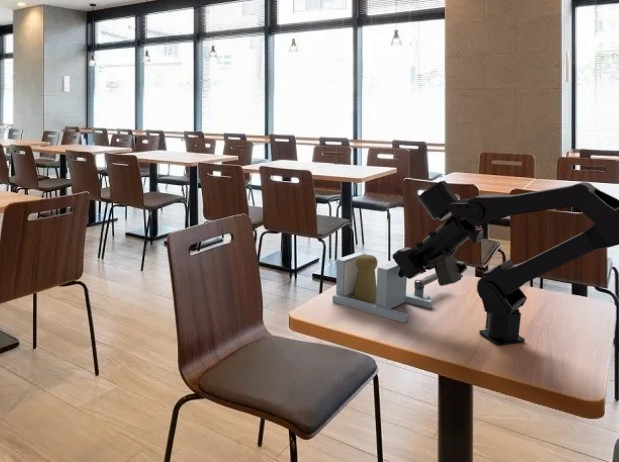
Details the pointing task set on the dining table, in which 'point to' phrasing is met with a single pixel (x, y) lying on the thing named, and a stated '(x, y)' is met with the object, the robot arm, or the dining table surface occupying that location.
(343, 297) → the vise bed
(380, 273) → the block
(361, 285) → the cork
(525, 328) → the dining table surface
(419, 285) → the lock handle
